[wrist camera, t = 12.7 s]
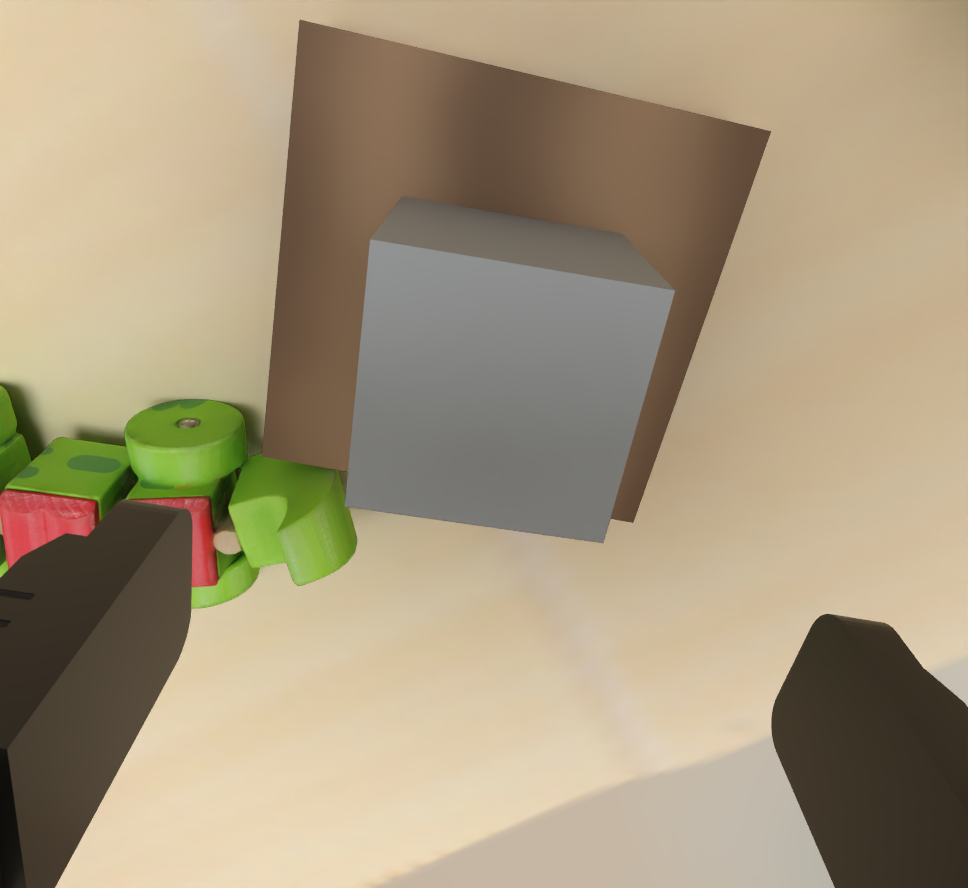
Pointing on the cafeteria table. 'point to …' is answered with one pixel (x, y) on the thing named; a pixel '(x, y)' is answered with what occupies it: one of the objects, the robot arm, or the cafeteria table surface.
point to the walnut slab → (485, 186)
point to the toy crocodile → (180, 495)
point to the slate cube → (501, 369)
